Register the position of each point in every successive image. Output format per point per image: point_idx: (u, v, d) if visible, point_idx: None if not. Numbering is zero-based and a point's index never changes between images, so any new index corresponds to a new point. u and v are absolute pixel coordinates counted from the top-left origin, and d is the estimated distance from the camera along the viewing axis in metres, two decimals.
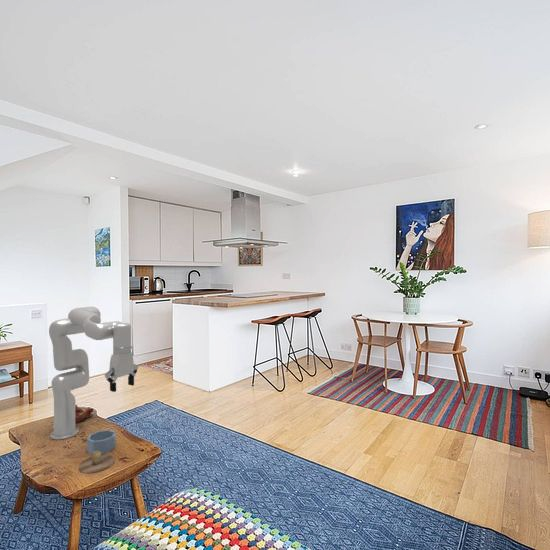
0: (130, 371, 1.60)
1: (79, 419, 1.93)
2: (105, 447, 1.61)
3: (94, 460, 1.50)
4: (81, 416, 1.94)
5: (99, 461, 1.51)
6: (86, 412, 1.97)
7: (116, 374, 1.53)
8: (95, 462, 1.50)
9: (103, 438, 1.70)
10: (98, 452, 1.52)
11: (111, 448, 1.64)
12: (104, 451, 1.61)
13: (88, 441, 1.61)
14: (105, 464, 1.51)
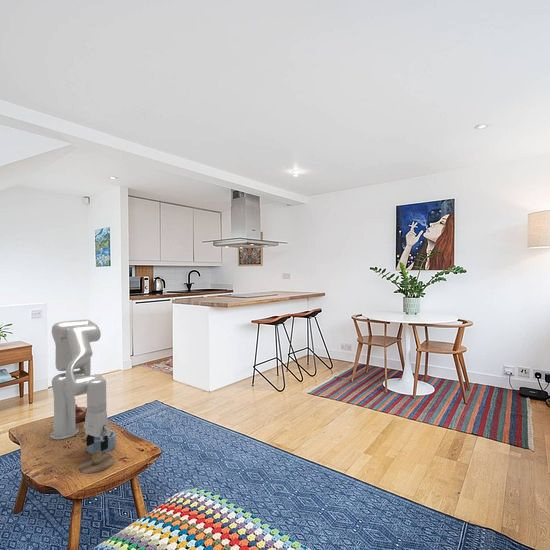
0: None
1: (79, 419, 1.93)
2: None
3: (94, 460, 1.50)
4: (81, 416, 1.94)
5: (99, 461, 1.51)
6: None
7: None
8: (95, 462, 1.50)
9: None
10: (98, 452, 1.52)
11: (111, 448, 1.64)
12: (104, 451, 1.61)
13: None
14: (105, 464, 1.51)
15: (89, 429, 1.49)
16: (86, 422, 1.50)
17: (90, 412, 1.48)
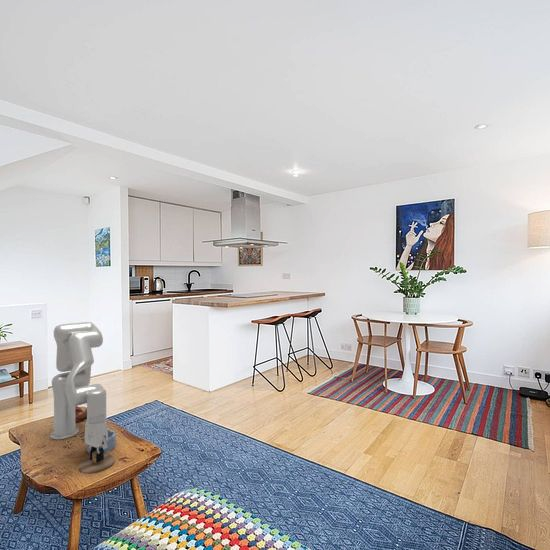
0: None
1: (78, 419, 1.93)
2: None
3: (94, 459, 1.50)
4: (80, 416, 1.94)
5: None
6: (85, 412, 1.97)
7: (107, 440, 1.51)
8: (95, 461, 1.50)
9: None
10: None
11: (111, 448, 1.64)
12: (104, 451, 1.61)
13: None
14: (106, 463, 1.51)
15: (89, 439, 1.49)
16: (86, 432, 1.51)
17: (90, 423, 1.48)
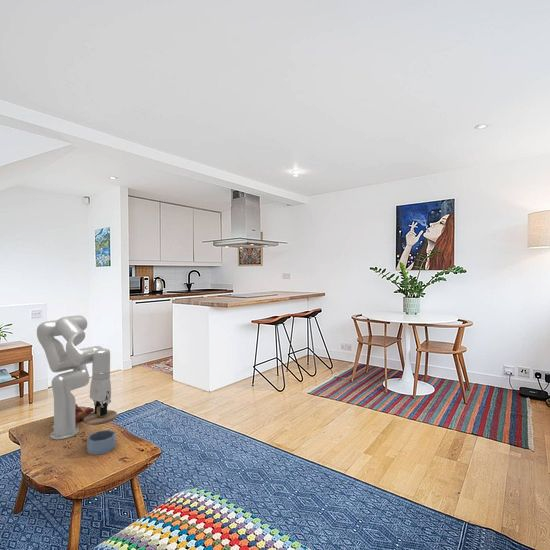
0: None
1: (77, 419, 1.94)
2: (105, 447, 1.61)
3: (98, 413, 1.63)
4: (79, 416, 1.94)
5: None
6: (85, 412, 1.97)
7: (110, 396, 1.64)
8: (99, 415, 1.63)
9: (103, 438, 1.70)
10: None
11: (111, 448, 1.64)
12: (104, 451, 1.61)
13: (88, 441, 1.61)
14: (109, 417, 1.64)
15: (94, 394, 1.63)
16: (91, 388, 1.64)
17: (95, 379, 1.61)
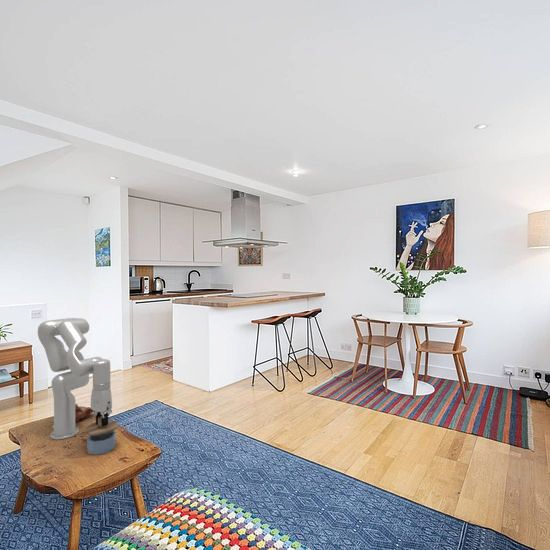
0: None
1: (77, 419, 1.94)
2: (105, 447, 1.61)
3: (99, 424, 1.64)
4: (79, 416, 1.94)
5: None
6: (85, 412, 1.97)
7: (111, 406, 1.65)
8: None
9: (103, 438, 1.70)
10: None
11: (111, 448, 1.64)
12: (104, 451, 1.61)
13: (88, 441, 1.61)
14: (110, 427, 1.65)
15: (95, 405, 1.64)
16: (92, 399, 1.65)
17: (96, 390, 1.62)
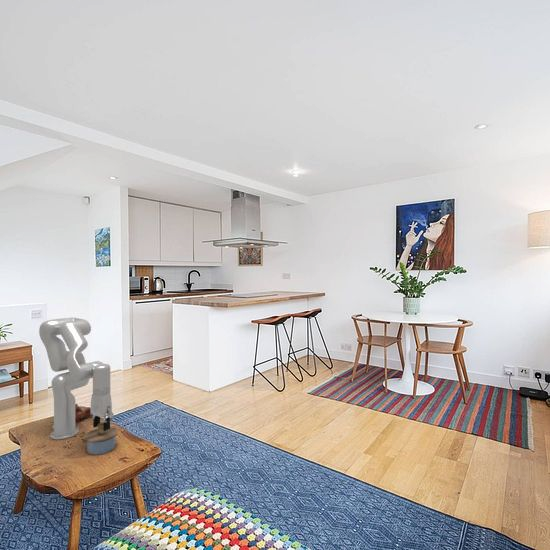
0: None
1: (77, 418, 1.94)
2: (105, 447, 1.61)
3: (99, 430, 1.64)
4: (79, 416, 1.94)
5: (104, 431, 1.65)
6: (85, 412, 1.97)
7: (111, 411, 1.65)
8: (100, 432, 1.64)
9: None
10: None
11: (111, 448, 1.64)
12: (104, 451, 1.61)
13: None
14: (110, 434, 1.65)
15: (94, 410, 1.64)
16: (92, 404, 1.65)
17: (95, 394, 1.62)
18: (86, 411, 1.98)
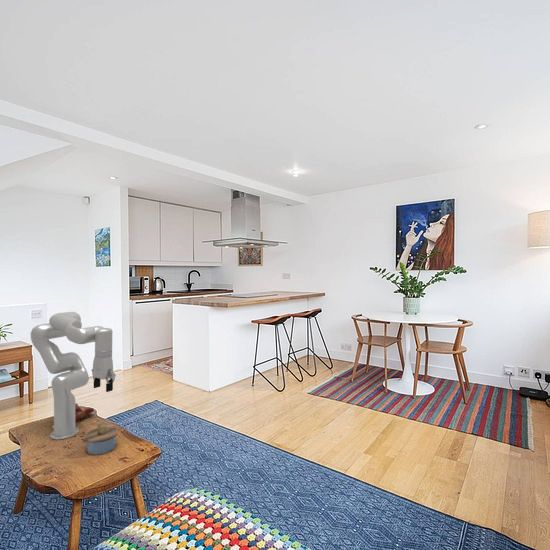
0: None
1: (77, 418, 1.94)
2: (105, 447, 1.61)
3: (99, 430, 1.64)
4: (79, 415, 1.95)
5: (104, 431, 1.65)
6: (84, 412, 1.97)
7: None
8: (100, 432, 1.64)
9: None
10: (103, 423, 1.66)
11: (111, 448, 1.64)
12: (104, 451, 1.61)
13: None
14: (110, 434, 1.65)
15: (96, 372, 1.66)
16: (94, 366, 1.67)
17: (97, 357, 1.64)
18: (86, 411, 1.98)
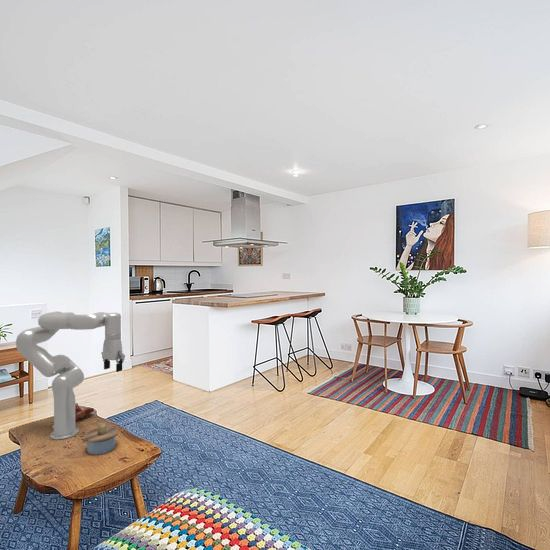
0: None
1: (76, 418, 1.94)
2: (105, 447, 1.61)
3: (99, 430, 1.64)
4: (78, 415, 1.95)
5: (104, 431, 1.65)
6: (84, 412, 1.97)
7: None
8: (100, 432, 1.64)
9: None
10: (103, 423, 1.66)
11: (111, 448, 1.64)
12: (104, 451, 1.61)
13: None
14: (110, 434, 1.65)
15: (106, 354, 1.78)
16: (104, 348, 1.79)
17: (108, 339, 1.76)
18: (86, 411, 1.98)
